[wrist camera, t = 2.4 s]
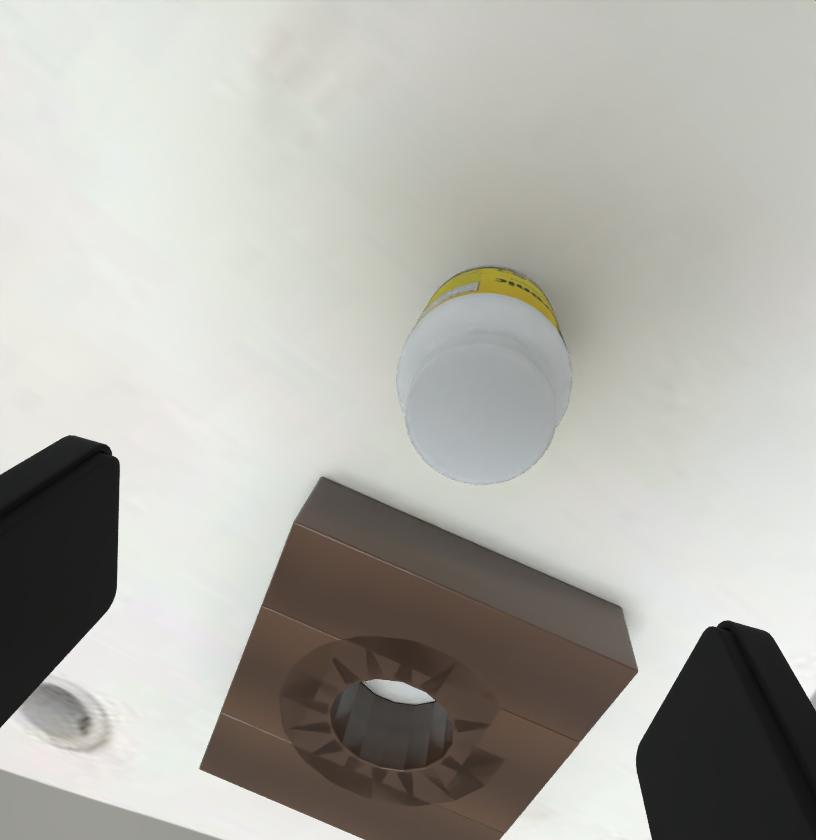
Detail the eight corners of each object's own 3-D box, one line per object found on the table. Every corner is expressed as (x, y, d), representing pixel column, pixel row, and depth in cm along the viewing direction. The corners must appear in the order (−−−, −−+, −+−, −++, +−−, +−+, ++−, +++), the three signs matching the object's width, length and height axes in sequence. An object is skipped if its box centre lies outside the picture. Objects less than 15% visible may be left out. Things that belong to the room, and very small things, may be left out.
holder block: (321, 476, 28) (293, 521, 25) (622, 607, 28) (639, 671, 25) (229, 708, 36) (198, 769, 32) (469, 811, 36) (464, 883, 32)
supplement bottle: (580, 350, 24) (623, 457, 15) (466, 412, 26) (445, 540, 17) (513, 234, 23) (517, 276, 14) (398, 308, 24) (336, 387, 16)
